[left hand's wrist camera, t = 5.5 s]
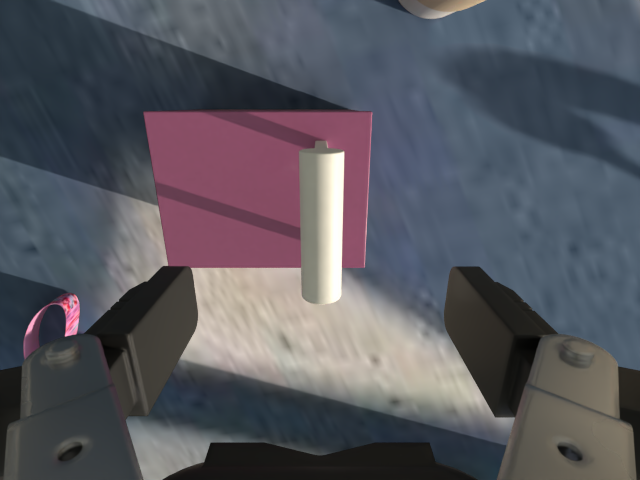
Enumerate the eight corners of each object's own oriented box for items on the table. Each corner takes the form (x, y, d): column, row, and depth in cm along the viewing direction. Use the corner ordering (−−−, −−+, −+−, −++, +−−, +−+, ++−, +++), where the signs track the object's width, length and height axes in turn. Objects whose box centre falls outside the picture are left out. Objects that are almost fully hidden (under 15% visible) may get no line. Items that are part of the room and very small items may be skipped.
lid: (369, 111, 22) (398, 114, 14) (362, 261, 26) (382, 331, 18) (151, 111, 22) (55, 114, 14) (174, 261, 26) (109, 331, 18)
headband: (45, 284, 36) (29, 294, 34) (84, 296, 37) (71, 307, 35) (32, 364, 40) (17, 378, 38) (68, 374, 41) (55, 389, 38)
